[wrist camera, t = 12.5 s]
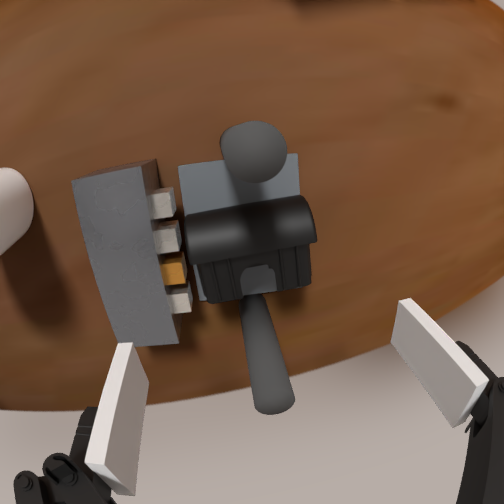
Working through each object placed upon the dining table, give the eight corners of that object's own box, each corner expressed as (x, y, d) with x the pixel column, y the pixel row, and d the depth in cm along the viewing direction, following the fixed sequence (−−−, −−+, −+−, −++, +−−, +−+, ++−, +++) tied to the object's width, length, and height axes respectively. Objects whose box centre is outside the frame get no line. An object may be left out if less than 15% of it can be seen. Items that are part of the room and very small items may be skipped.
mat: (200, 298, 32) (199, 300, 32) (178, 165, 27) (177, 166, 27) (301, 285, 33) (302, 287, 33) (296, 153, 28) (297, 153, 27)
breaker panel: (132, 313, 32) (120, 347, 27) (97, 170, 26) (71, 180, 20) (197, 307, 33) (195, 341, 27) (172, 156, 26) (161, 162, 21)
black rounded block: (293, 186, 29) (315, 203, 22) (300, 255, 31) (320, 286, 25) (187, 205, 28) (180, 227, 22) (203, 273, 31) (201, 309, 25)
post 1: (221, 160, 27) (226, 186, 14) (218, 128, 26) (220, 124, 13) (254, 156, 27) (289, 180, 15) (251, 124, 26) (284, 118, 13)
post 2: (240, 317, 34) (256, 417, 21) (237, 294, 33) (252, 393, 20) (266, 313, 34) (294, 410, 21) (265, 290, 33) (295, 386, 20)
